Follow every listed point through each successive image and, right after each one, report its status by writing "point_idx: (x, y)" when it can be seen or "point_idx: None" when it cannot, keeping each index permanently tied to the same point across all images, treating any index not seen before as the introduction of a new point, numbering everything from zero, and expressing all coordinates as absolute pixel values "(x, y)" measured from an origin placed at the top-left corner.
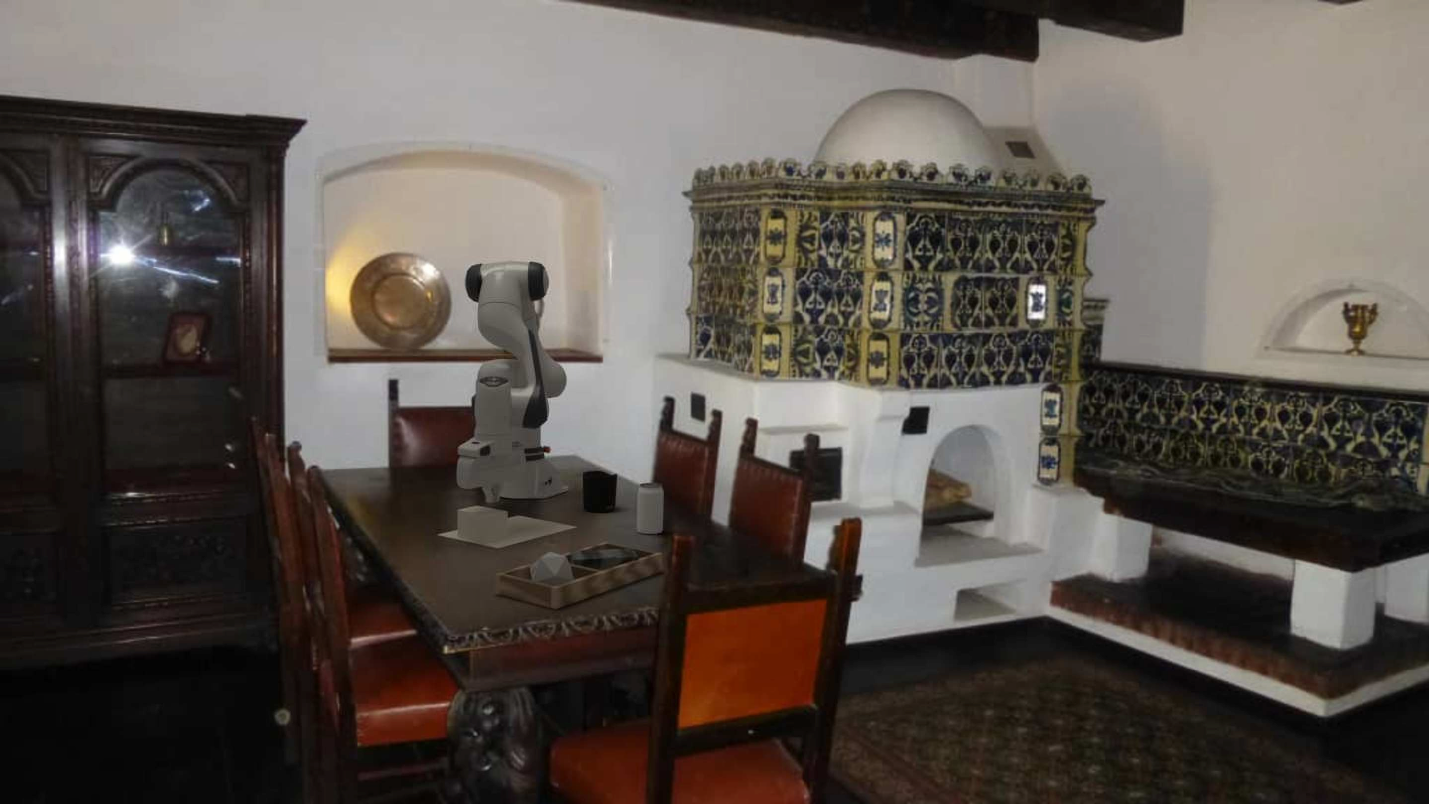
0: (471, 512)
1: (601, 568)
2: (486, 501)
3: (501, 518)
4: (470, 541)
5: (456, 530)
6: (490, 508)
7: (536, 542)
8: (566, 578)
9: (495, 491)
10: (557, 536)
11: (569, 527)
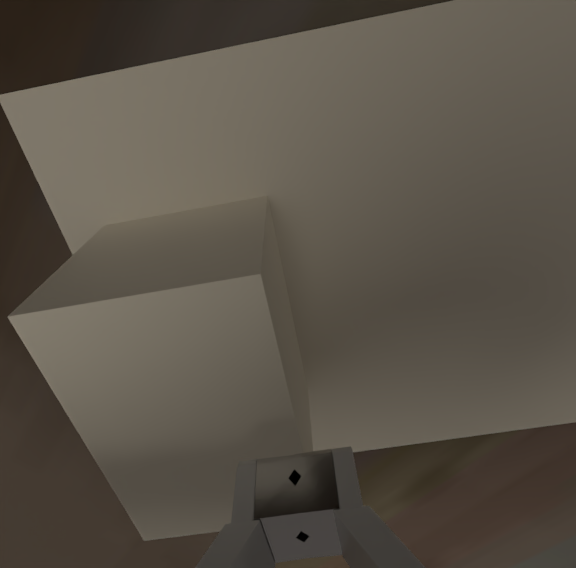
0: (86, 436)
1: None
2: (239, 468)
3: None
4: None
5: (170, 66)
6: (285, 411)
7: (370, 465)
8: None
9: (355, 553)
10: (506, 444)
11: None
